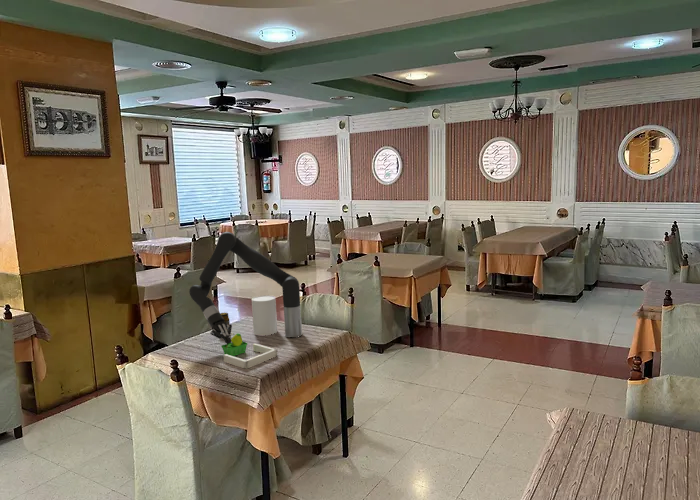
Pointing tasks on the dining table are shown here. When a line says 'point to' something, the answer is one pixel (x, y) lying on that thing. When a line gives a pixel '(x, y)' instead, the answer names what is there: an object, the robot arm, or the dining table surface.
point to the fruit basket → (235, 346)
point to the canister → (264, 315)
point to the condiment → (226, 319)
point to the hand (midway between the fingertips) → (229, 343)
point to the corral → (245, 364)
